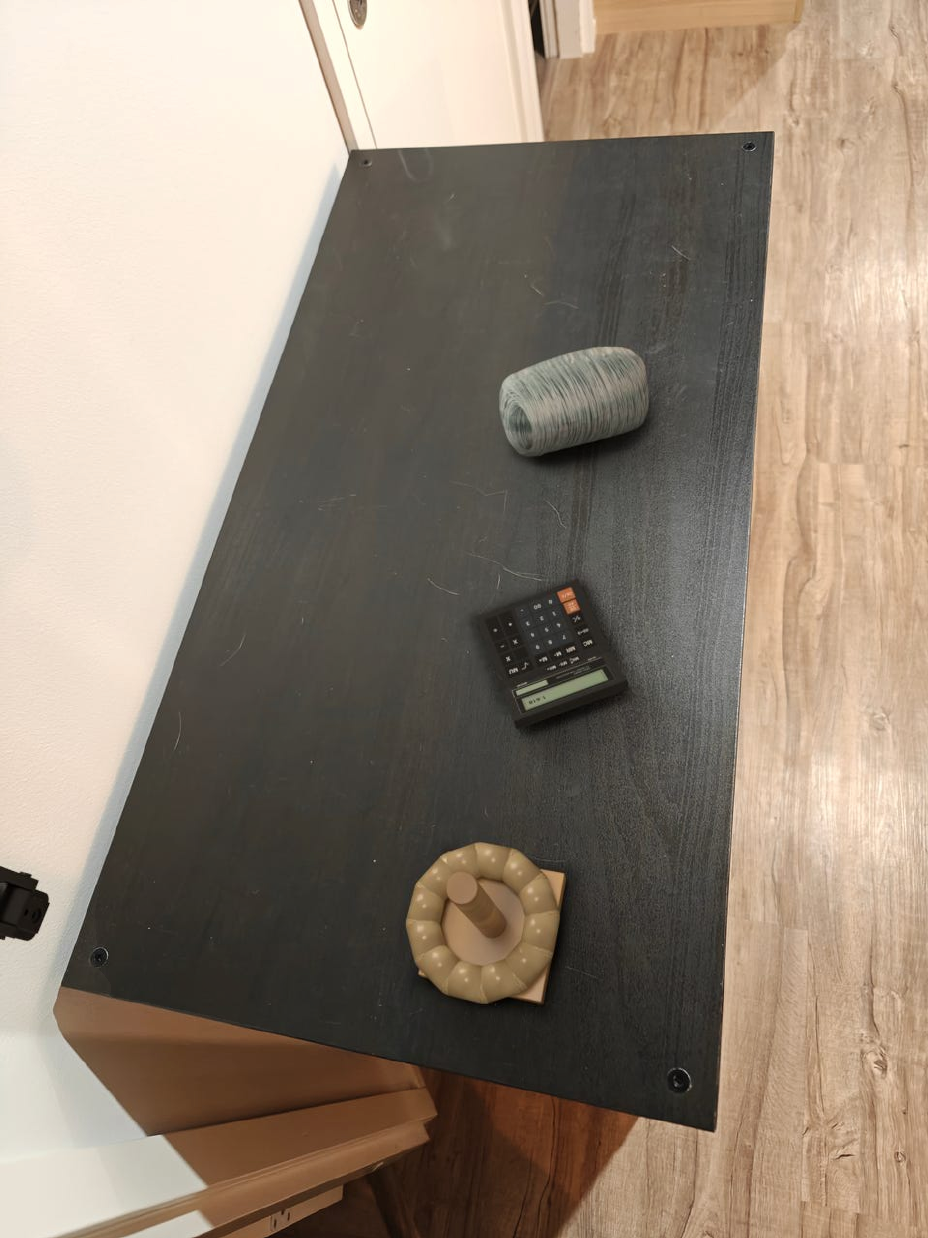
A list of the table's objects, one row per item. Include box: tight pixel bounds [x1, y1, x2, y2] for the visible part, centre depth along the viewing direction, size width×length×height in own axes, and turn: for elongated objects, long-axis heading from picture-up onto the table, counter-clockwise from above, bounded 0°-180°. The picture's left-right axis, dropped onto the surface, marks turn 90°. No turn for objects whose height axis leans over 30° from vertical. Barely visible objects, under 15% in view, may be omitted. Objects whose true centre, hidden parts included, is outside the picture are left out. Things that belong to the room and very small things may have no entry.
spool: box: [498, 345, 650, 458], centre depth 86 cm, size 14×10×10 cm
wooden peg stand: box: [418, 850, 567, 1006], centre depth 64 cm, size 9×9×14 cm
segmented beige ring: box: [405, 841, 561, 1005], centre depth 67 cm, size 11×11×2 cm
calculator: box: [475, 578, 630, 730], centre depth 77 cm, size 9×12×3 cm
